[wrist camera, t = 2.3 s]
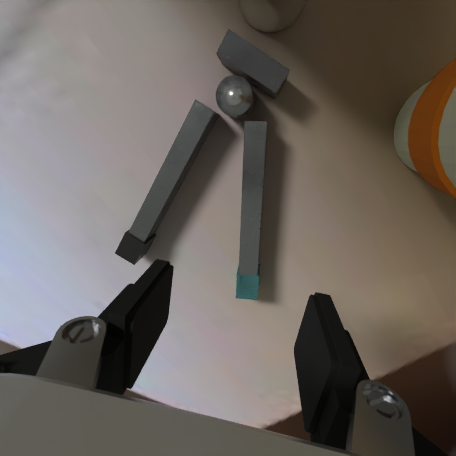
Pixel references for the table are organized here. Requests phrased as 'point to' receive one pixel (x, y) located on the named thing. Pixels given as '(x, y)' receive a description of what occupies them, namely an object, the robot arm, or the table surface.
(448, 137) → the reusable coffee cup
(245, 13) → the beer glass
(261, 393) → the table surface
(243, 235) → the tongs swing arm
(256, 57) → the tongs fixed arm
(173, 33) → the table surface
